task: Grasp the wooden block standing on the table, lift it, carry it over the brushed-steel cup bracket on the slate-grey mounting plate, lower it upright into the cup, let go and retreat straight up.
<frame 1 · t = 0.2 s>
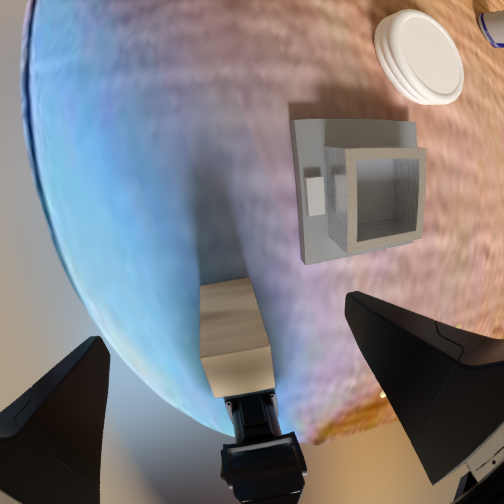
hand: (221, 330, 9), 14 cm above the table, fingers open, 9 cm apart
beverage can: (486, 31, 16), on the table
mounting plate: (360, 186, 22), on the table
coaster: (410, 59, 18), on the table
wooden block: (228, 301, 25), on the table
cup bracket: (367, 188, 21), resting on mounting plate
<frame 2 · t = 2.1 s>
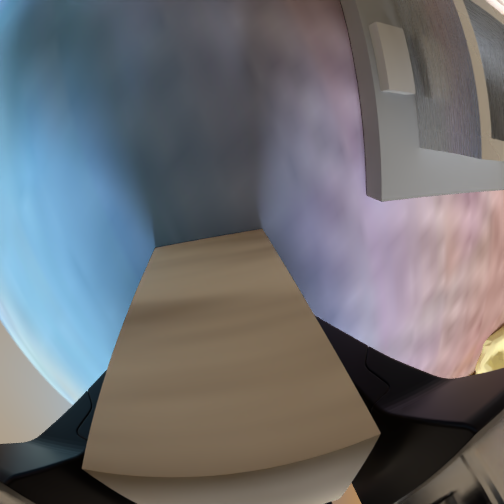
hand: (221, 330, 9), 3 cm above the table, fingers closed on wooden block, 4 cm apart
cloth: (483, 365, 24), on the table
mounting plate: (445, 81, 9), on the table
wooden block: (217, 285, 12), on the table, touching gripper
cup bracket: (461, 79, 8), resting on mounting plate
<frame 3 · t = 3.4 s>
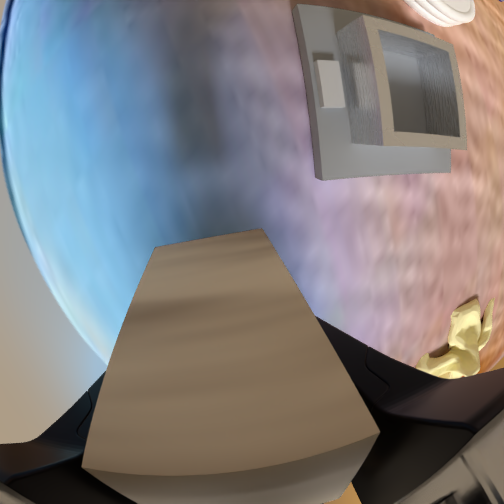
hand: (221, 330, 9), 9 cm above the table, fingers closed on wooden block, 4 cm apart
cloth: (458, 341, 29), on the table
mounting plate: (382, 92, 15), on the table
wooden block: (217, 285, 12), point 6 cm above the table, touching gripper
cup bracket: (392, 90, 14), resting on mounting plate
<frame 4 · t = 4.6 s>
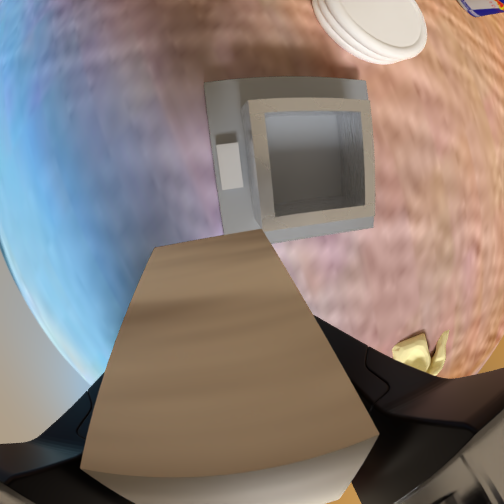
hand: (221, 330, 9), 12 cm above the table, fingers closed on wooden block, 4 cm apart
cloth: (409, 368, 33), on the table
beverage can: (462, 0, 13), on the table
mounting plate: (296, 157, 19), on the table
coaster: (361, 18, 15), on the table
wooden block: (216, 285, 12), point 9 cm above the table, touching gripper
cup bracket: (301, 157, 18), resting on mounting plate
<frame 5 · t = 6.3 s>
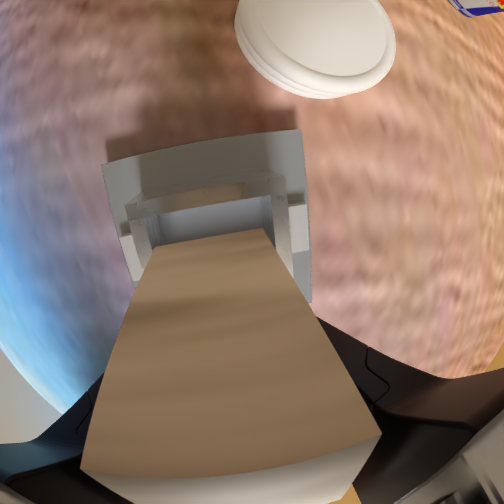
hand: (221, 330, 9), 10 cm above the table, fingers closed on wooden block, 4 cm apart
mounting plate: (214, 233, 18), on the table
coaster: (307, 35, 14), on the table
wooden block: (217, 285, 12), point 7 cm above the table, touching gripper
cup bracket: (215, 240, 17), resting on mounting plate
when the fingers open (6 cm above the table, at t = 7.4 s): wooden block drops 2 cm, resting on mounting plate.
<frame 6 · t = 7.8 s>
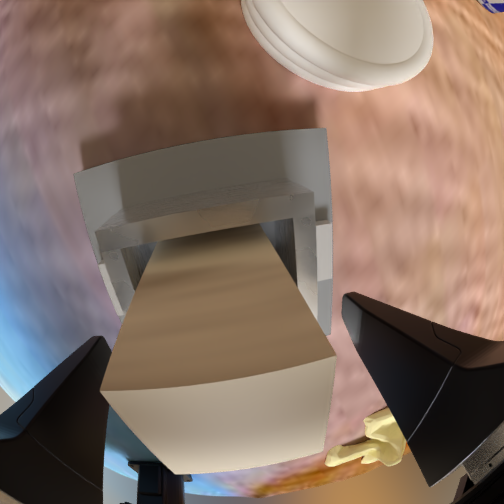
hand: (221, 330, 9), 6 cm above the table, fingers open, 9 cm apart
cloth: (388, 426, 29), on the table
mounting plate: (216, 257, 14), on the table
coaster: (328, 17, 10), on the table
wooden block: (216, 267, 13), point 1 cm above the table, touching mounting plate
cup bracket: (216, 267, 13), resting on mounting plate
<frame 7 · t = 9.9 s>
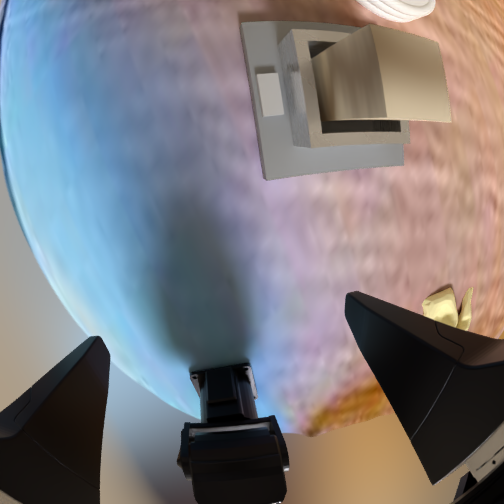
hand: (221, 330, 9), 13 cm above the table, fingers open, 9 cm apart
cloth: (437, 329, 32), on the table
mounting plate: (329, 94, 18), on the table
wooden block: (335, 92, 17), point 1 cm above the table, touching mounting plate
cup bracket: (335, 92, 17), resting on mounting plate
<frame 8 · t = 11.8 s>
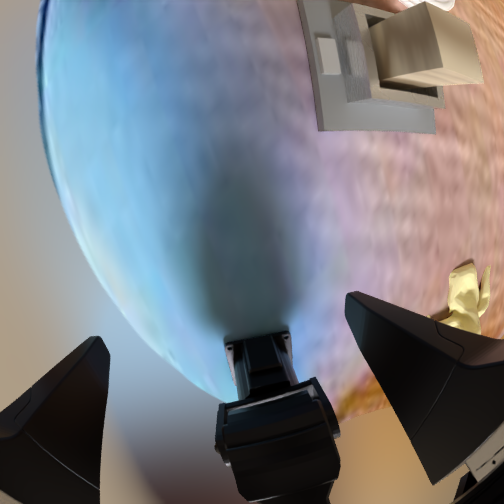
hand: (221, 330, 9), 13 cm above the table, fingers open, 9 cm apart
cloth: (459, 307, 32), on the table
mounting plate: (372, 66, 17), on the table
wooden block: (379, 63, 16), point 1 cm above the table, touching mounting plate
cup bracket: (380, 63, 16), resting on mounting plate
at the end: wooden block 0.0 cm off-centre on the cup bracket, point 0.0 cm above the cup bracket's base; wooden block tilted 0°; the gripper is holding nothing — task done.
